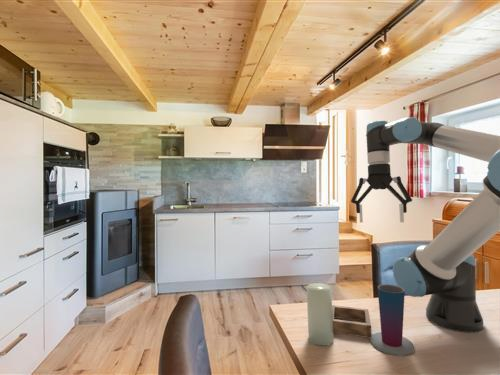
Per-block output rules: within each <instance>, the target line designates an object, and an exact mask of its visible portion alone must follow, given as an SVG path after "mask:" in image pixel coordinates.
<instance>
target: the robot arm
mask: <svg viewBox="0 0 500 375" xmlns="http://www.w3.org/2000/svg"><path fill="white" fill-rule="evenodd" d="M365 136H366V152H367V153H366V154H367V164H368V165H367V178H365V177H364V178H363V177H360V178H359V179H358V185H357V187H356V189H355V192H354V194H353V196H352V197H351V199H350V203H352V204H355V208H356V213H357V214H359V222H360V223H363V222H364V221H363V204H361V202H362V201H363V200H364V199H365V198H366V197H367V196H368V195H369V193H370V192H371V191H372V190H377V191H378V190H386V189H387V190H388V191H389V192H390V193H391V194H392V195H393V196H394V197H395V198H396V199H397V200H398V201H399V202H400V203H399V204H398V207H399V222H400V223H405V214H406V213H407V204H408V203H411V202H413V199H412V197H411V195H410V194H409V192H408V190H407V188H406V187H405V185H404V184H403V183H402V177H401V176H400V175H398V176H395V177H392V174H391V164H390V162H391V157H390V156H391V155H390V146H394V145H397V144H398V145H399V144H408V145H409V144H411V145H412V144H413V145H427V146H430V147H434V148H437V149H441V150H445V151H448V152H451V153H455V154H459V155H462V156H466V157H469V158H473V159H475V160H480V161H483V162H486V163H488V164H487V169H488V170H487V172H486V176H485V177H484V178H483V179H482V186H483V189H482V190H481V191H480V192H479V193H478V194H477V195H476V196H475V197H474V198H473V199H472V200H471V201H470V202H469V203H468V204H467V205H466V206H465V207H464V208H463V209H462V210H461V211H460V212H459V213H458V214H457V215H456V216H455V217H454V218H453V219H452V220H451V221H450V222H449V224H447V225H446V226H445V227H444V228H443V229H442V230H441V231H440V232H439V233H438V235H436V236H435V237H434V238H433V239H432V241H430V242H429V244H421V245H419V246H417V247H416V249H414V250H413V251H412V252H411V253H410V254H409V255H408V256H402V257H398V258H397V259H395V260H394V263H393V265H392V273H393V279H394V281H395V284H396V286H399V287H402V288H403V289H404V290H405V295H407V296H410V297H412V298H419V297H421V298H423V297H425V296H429V295H430V298H429V300H428V303H427V305H426V309H425V316H426V318H427V320H429V321H430V322H432V323H433V324H435V325H437V326H438V327H442V328H444V329H448V330H451V331H456V332H461V333H462V332H464V333H476V332H477V333H478V332H481V331H483V330H484V327H485V326H484V318H483V315H482V313H481V310H480V309H479V305H478V303H477V295H476V294H477V293H476V292H477V291H476V289H477V288H476V287H477V286H476V284H477V283H476V281H477V278H476V277H477V276H476V268H477V265H476V259H475V255H473V254H474V253H475V252H476V251H477V250H478V249H479V248H481V247H482V246H484V244H486V243H487V242H488V241H489V240H491V239H492V238H493V237H494V236H495V235H496V234H497V233H499V232H500V135H496V134H491V133H486V132H482V131H476V130H471V129H466V128H461V127H455V126H452V125H451V126H450V125H445V124H444V123H439V122H429V121H428V122H425V121H420V120H419V119H418V118H416V117H413V116H410V117H403V118H400V119H398V120H395V121H392V122H390V123H389V122H388V121H387V120H376V121H371V122H369V123H367V125H366V134H365ZM392 181H393V182H394V183H396V185H397V187H398V188H399V190H400V192H401V194H402V195H403V196H402V195H401V194H400V193H399V192H398V191H397V190H396V189H395V188H394V187H393V186H392V184H391V183H392ZM365 183H367V184H368V185H369V186H368V187H367V189H366V190H365V191H364V192H363V193H362V194H361V196H360V197H359V198H358V196H359V194H360V191H361V190H362V187H363V185H364V184H365ZM357 198H358V199H357Z"/></svg>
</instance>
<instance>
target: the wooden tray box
mask: <svg viewBox="0 0 500 375" xmlns="http://www.w3.org/2000/svg"><path fill="white" fill-rule="evenodd" d="M369 311H370V310H369V309H368V308H360V307H350V306H343V305H342V306H341V305H334V304H332V314H333V334H334V333H336V334H343V335H348V336H349V335H350V336H357V337H364V338H369V339H370V338H371V336H372V323H371V318H370V312H369ZM336 318H339V319H336ZM341 319H343V320H341ZM344 319H346V320H344ZM351 320H352V321H351ZM353 320H354V321H353ZM358 321H360V322H358ZM361 321H363V322H361Z"/></svg>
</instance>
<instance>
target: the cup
mask: <svg viewBox="0 0 500 375" xmlns="http://www.w3.org/2000/svg"><path fill="white" fill-rule="evenodd" d="M377 295H378V296H377V297H378V308H379V321H380V330H381V335H382V342H383V343H384V344H386V345H388V346H392V347H400V346H401V345H402V336H403V329H404V311H405V297H406V296H405V295H406V294H405V290H404V289H403V288H402V287H399V286H398V285H397V284H396V285H394V284H390V283H389V284H387V283H386V284H379V285H377Z"/></svg>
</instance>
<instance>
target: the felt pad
mask: <svg viewBox="0 0 500 375" xmlns="http://www.w3.org/2000/svg"><path fill="white" fill-rule="evenodd" d="M369 339H370V340H369V341H370V344H371V345H372V347H373V348H375V349H377V350H378V351H380V352H381V353H385V354H387V355H390V356H396V357H406V356H407V357H408V356H411V355H412V354H414V352H415V344H414V343H413V342H412V341H411V340H409V339H408V338H406V337H405V336H403V335H402V345H401V346H400V347H392V346H388V345H386V344H384V343H383V342H382V335H381V332H380V331H379V332H375V333H372V334H371V338H369Z"/></svg>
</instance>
